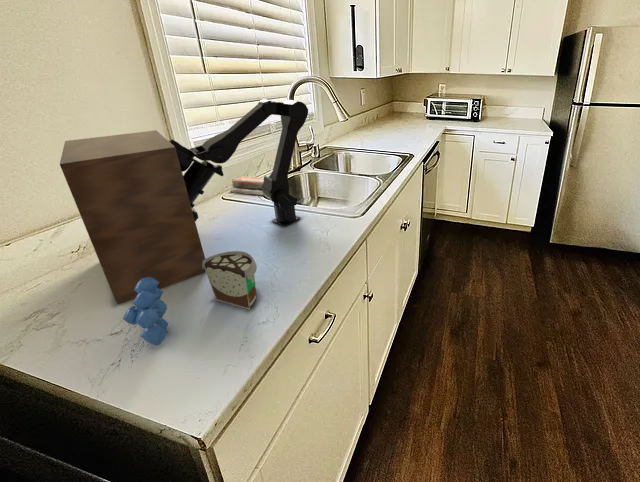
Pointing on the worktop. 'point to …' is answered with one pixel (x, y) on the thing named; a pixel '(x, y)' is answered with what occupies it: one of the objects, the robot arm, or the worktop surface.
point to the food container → (232, 278)
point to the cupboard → (134, 209)
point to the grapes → (148, 311)
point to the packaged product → (248, 185)
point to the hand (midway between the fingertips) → (156, 232)
